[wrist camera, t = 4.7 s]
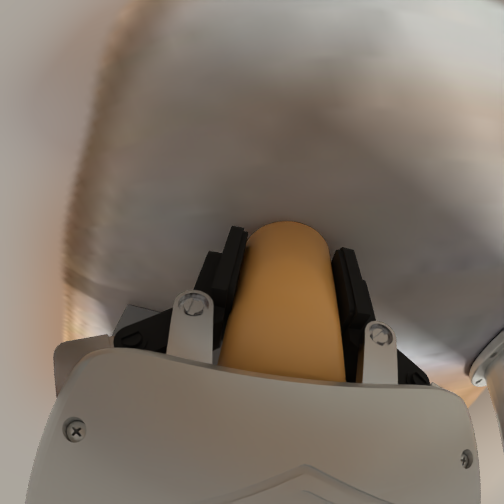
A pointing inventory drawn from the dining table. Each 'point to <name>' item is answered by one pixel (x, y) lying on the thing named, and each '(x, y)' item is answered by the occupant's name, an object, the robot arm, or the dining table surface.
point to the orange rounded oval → (285, 307)
